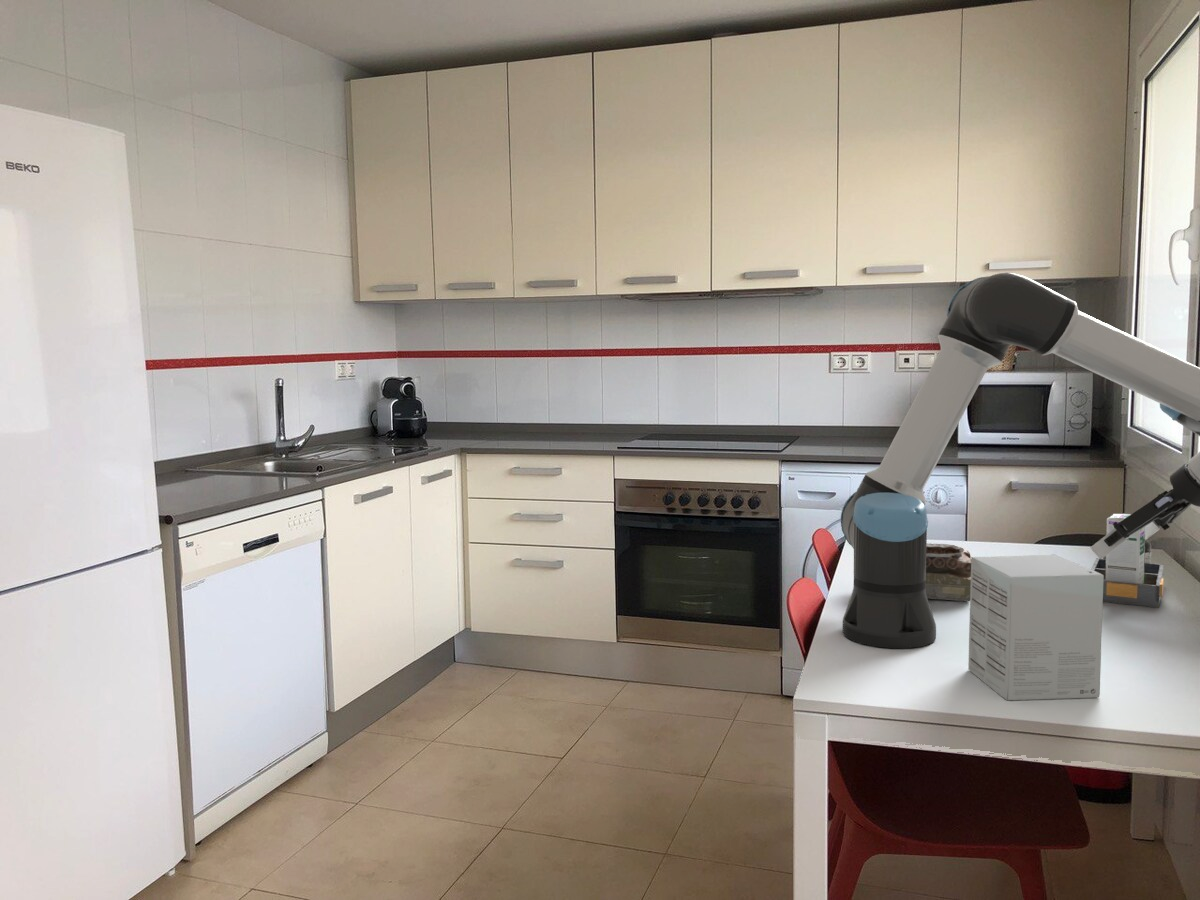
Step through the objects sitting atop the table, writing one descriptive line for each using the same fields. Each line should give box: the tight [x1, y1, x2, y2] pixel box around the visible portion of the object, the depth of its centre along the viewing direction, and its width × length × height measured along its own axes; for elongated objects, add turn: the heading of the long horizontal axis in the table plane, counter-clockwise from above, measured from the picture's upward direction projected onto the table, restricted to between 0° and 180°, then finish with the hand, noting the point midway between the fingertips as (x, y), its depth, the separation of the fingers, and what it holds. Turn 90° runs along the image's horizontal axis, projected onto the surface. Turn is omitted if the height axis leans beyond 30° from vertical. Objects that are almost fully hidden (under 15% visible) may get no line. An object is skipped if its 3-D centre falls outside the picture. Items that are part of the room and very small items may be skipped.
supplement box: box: [967, 554, 1104, 701], centre depth 136 cm, size 13×13×18 cm
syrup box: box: [1105, 513, 1145, 584], centre depth 180 cm, size 6×6×14 cm
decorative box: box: [926, 542, 972, 602], centre depth 183 cm, size 13×20×10 cm, turn 67°
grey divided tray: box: [1090, 557, 1165, 608], centre depth 185 cm, size 20×12×4 cm, turn 148°
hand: (1112, 548), depth 182 cm, fingers open, 13 cm apart
